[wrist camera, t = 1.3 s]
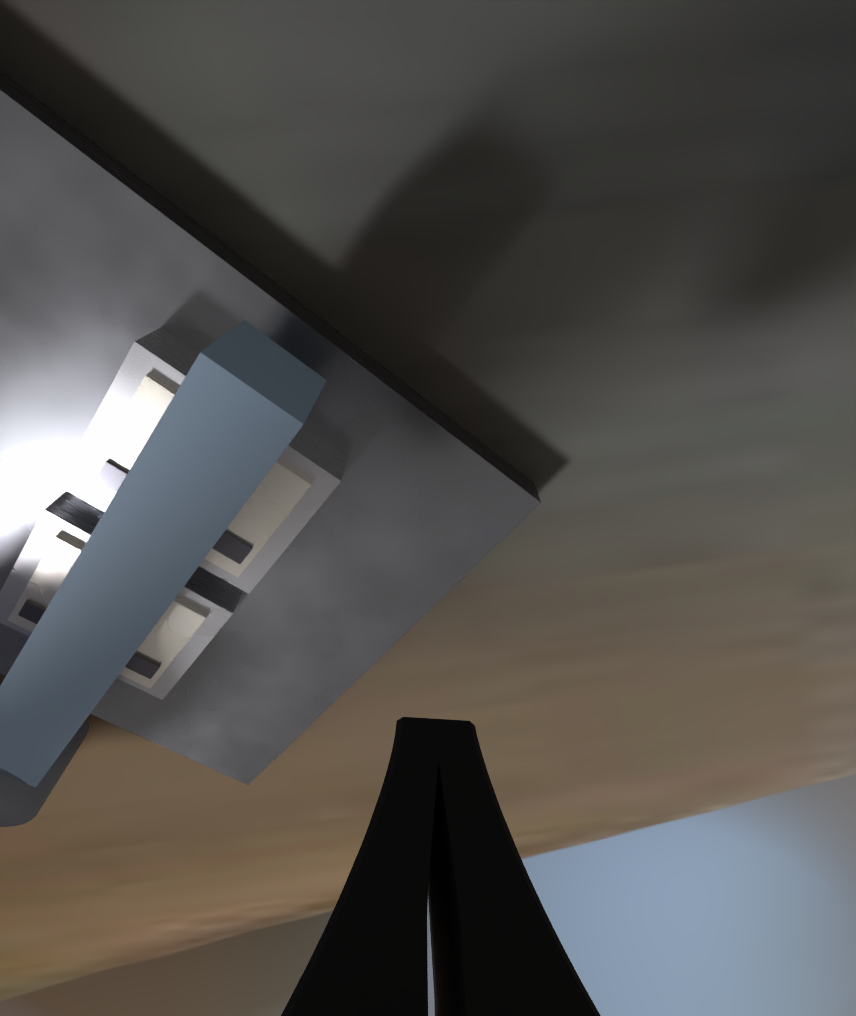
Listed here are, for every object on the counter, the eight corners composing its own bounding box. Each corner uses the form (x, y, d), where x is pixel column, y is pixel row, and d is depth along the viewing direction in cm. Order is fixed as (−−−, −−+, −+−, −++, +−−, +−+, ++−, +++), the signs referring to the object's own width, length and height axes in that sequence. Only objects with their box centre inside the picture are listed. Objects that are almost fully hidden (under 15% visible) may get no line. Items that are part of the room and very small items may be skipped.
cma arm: (67, 760, 20) (18, 838, 18) (-24, 722, 19) (-90, 799, 17) (344, 393, 13) (325, 439, 11) (224, 305, 12) (175, 334, 10)
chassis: (255, 760, 25) (235, 825, 23) (-223, 537, 20) (-322, 591, 17) (534, 484, 18) (551, 533, 16) (-80, 9, 13) (-211, -35, 10)
